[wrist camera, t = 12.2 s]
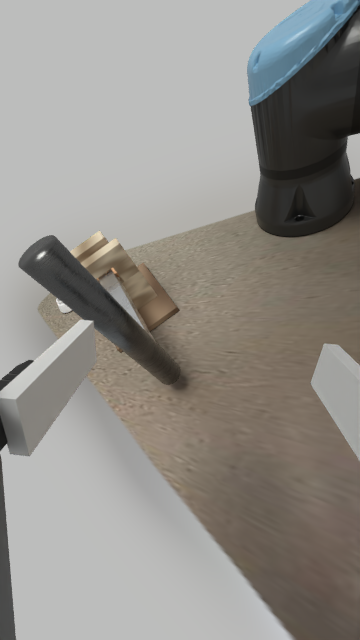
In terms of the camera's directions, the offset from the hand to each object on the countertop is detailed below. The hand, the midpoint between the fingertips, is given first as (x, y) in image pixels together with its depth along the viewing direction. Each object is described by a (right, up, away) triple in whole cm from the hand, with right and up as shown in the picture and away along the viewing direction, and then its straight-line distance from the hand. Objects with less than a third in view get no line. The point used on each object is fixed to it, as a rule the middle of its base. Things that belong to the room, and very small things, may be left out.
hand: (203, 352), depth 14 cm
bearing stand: (-9, +4, +32) cm, 33 cm away
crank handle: (-6, 0, +22) cm, 23 cm away
